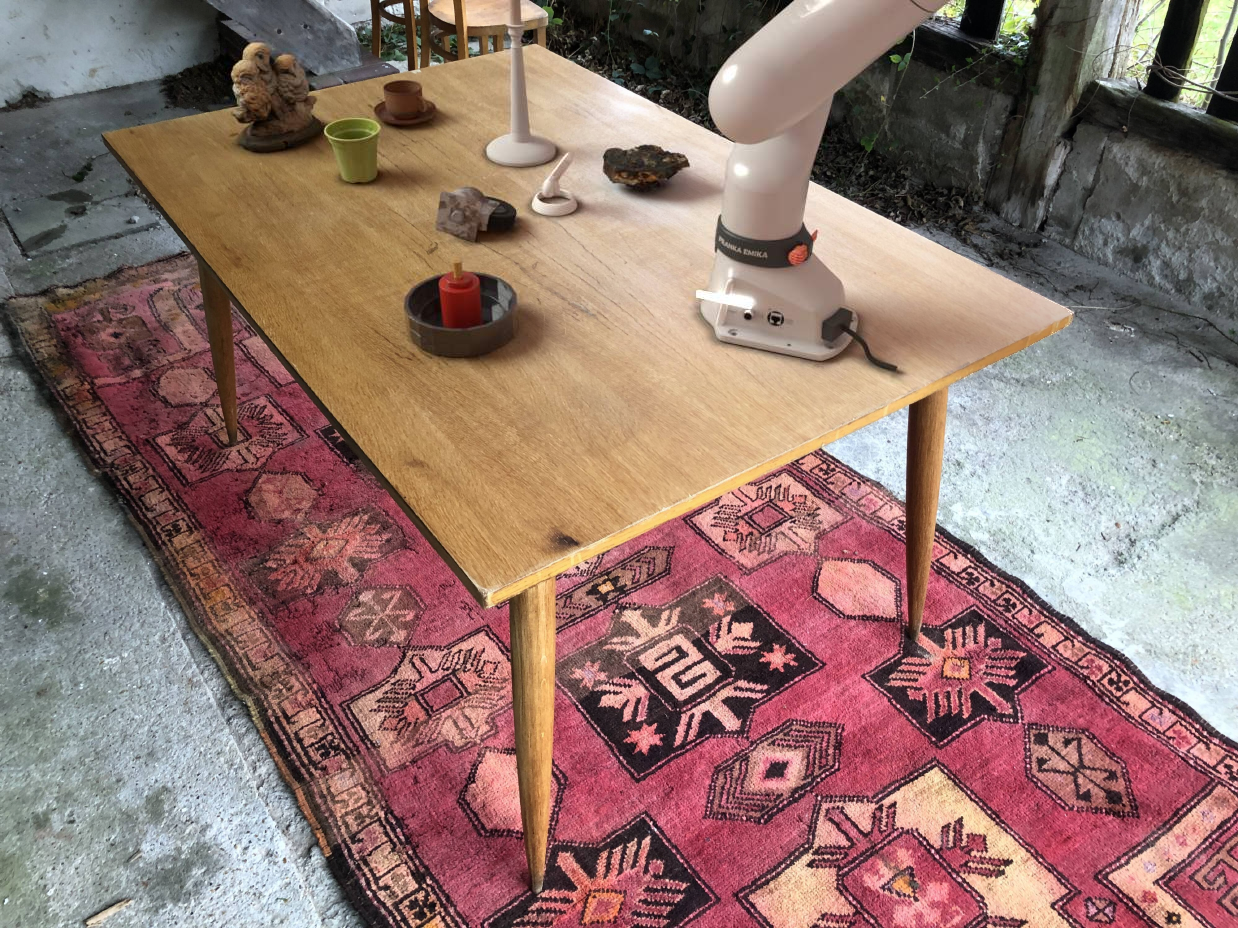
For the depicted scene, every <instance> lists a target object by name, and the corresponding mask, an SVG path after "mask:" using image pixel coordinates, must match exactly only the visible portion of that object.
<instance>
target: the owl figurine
mask: <svg viewBox="0 0 1238 928" xmlns="http://www.w3.org/2000/svg"><path fill="white" fill-rule="evenodd" d="M270 49H271V48H270V47H269V46H268V45H267V44H265V43H264V42H251V43H248V44H247V46H246V47H245V48H244V50H243V52H242V60H239V61H238V62H237V63H235V65H233V67H232V70H231V73H230V76H231V79H232V82H233V85H232V91H233V93H234V96H235V98H236V104H237V107H235V108H234V110H231V111H230V115H231V116H232V117H234V118H235V119H236V121H237V123H239V124H242V125H243V124H245V125H246V124H247V125H246V126H245V127H244V128H243V130H241V132H240V133H238V136H237V142H238V144H239V146H240V147H242V148H247V149H249V150H250V151H254V152H258V153H259V152H261V153H262V152H263V153H269V152H276V151H279V150H284V149H286V146H287V147H288V148H295V147H297V146H300V145H301V144H304V143H307V142H309V141H310V140H312V139H314V138H316V137H317V136H318V135H319V134H320V132H321V131H322V127H323V126H322V122H321V120H320V119H319V118H317V117H316V116H315V115H314V114H312V111H313V110H314V106H315V104H316V103H317V102H318V99H317V96H316V95H309V93H310V87H309V82H308V79H307V74H306V72H305V69H303V67H301V65H300V62H299V61H298V59H297V58H296V57H295V56H294V55H292V54H285V53H284V54H282V55H279V56H278V57H277V58H276V59H275V60H274V61H273V64H272V65H271V63H270V55H271V50H270ZM285 142H286V143H287V145H286V143H285Z"/></svg>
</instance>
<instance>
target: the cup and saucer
mask: <svg viewBox="0 0 1238 928" xmlns="http://www.w3.org/2000/svg"><path fill="white" fill-rule="evenodd" d="M382 90H383V91H382V92H383V96H384V100H383V101H381V102H379V103H377V104H376V105H375V106H374V108H373V114H374V115H375V117H377V119H378V120H380V121H382V122H384V123H387V124H391V125H397V126H409V125H415V124H420V123H423V122H426V121H428V120H429V119H431V118H432V117H433V116H434V115H435V114H436V111H437V105H436V104H435V103H434V102H432V101H430V100H428V99H426V98H424V96H423V86H422V84H421V83H420V82H418V81H414V80H410V79H398V80H393V81H390V82H387V83H385V84H384V85H383V86H382Z"/></svg>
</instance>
